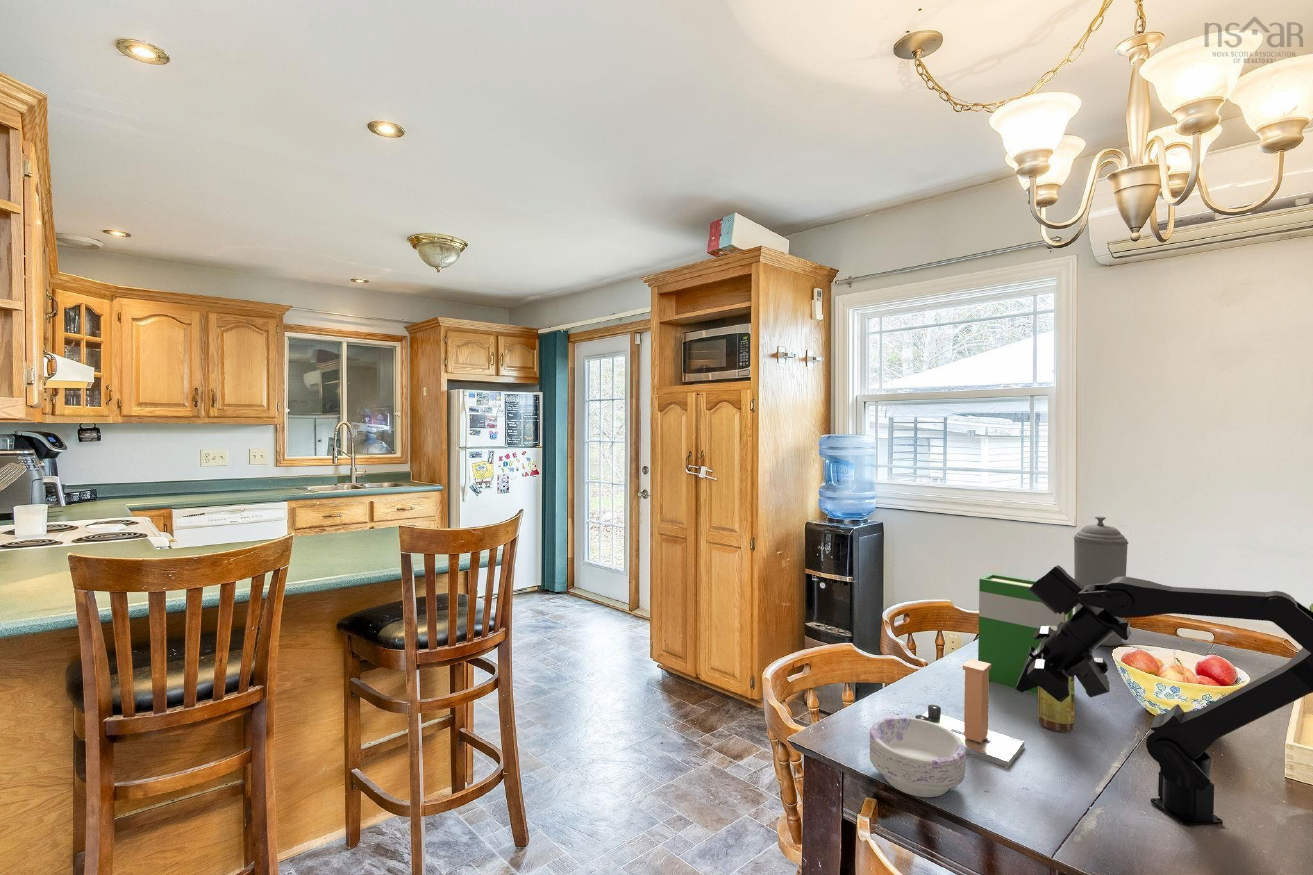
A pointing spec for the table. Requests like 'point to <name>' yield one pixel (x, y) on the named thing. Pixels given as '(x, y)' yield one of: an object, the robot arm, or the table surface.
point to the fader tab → (976, 700)
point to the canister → (1100, 560)
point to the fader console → (990, 749)
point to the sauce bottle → (1056, 708)
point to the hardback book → (1010, 626)
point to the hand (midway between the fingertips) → (1018, 689)
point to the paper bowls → (917, 755)
